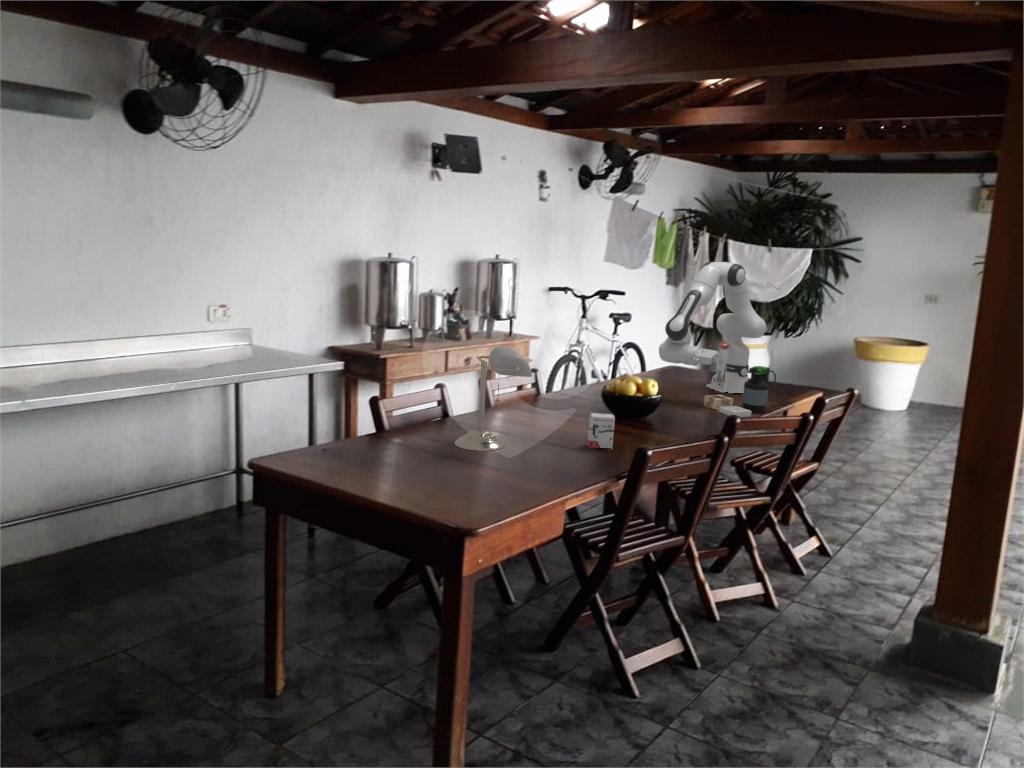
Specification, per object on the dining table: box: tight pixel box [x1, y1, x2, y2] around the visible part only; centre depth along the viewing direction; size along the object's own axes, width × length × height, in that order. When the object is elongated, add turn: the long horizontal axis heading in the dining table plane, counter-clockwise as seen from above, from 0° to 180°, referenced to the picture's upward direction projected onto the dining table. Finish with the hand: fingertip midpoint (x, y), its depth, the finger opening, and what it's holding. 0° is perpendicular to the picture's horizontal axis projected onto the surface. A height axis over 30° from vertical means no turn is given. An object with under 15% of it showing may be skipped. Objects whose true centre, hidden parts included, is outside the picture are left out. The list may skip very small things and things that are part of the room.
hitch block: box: [703, 394, 734, 411], centre depth 363 cm, size 9×9×5 cm
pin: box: [716, 342, 730, 382], centre depth 359 cm, size 5×5×17 cm
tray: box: [718, 405, 752, 418], centre depth 351 cm, size 10×10×2 cm
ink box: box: [586, 412, 616, 450], centre depth 284 cm, size 9×5×12 cm, turn 90°
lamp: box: [454, 345, 533, 452], centre depth 278 cm, size 26×24×34 cm
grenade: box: [741, 365, 777, 414], centre depth 361 cm, size 11×13×20 cm
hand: (725, 359), depth 359 cm, fingers closed on pin, 4 cm apart
